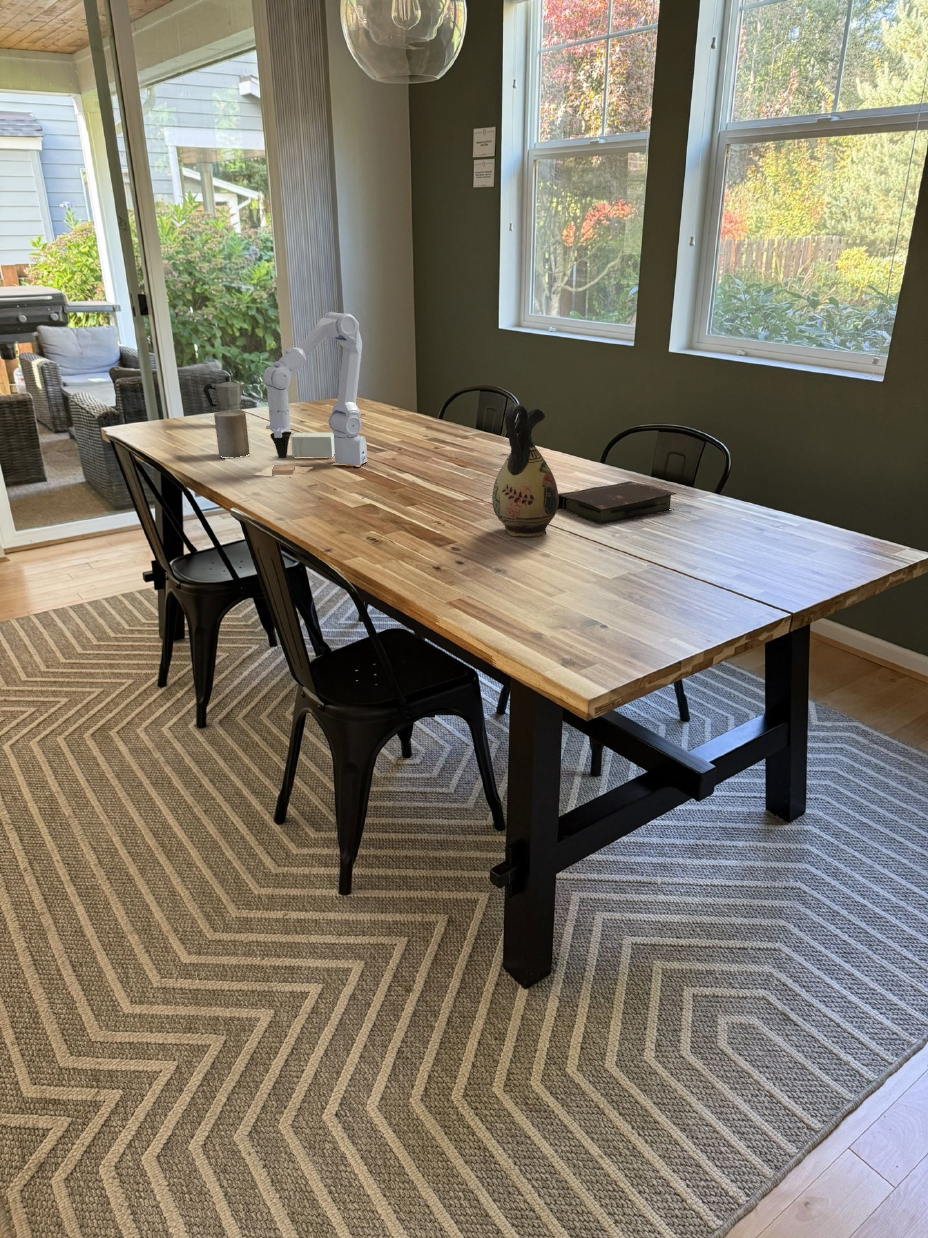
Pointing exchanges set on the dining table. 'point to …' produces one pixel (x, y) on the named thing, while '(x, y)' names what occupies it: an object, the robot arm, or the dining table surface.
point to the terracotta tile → (283, 470)
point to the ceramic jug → (524, 479)
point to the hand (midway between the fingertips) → (282, 457)
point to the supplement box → (313, 445)
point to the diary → (616, 502)
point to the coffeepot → (226, 394)
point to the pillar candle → (232, 433)
